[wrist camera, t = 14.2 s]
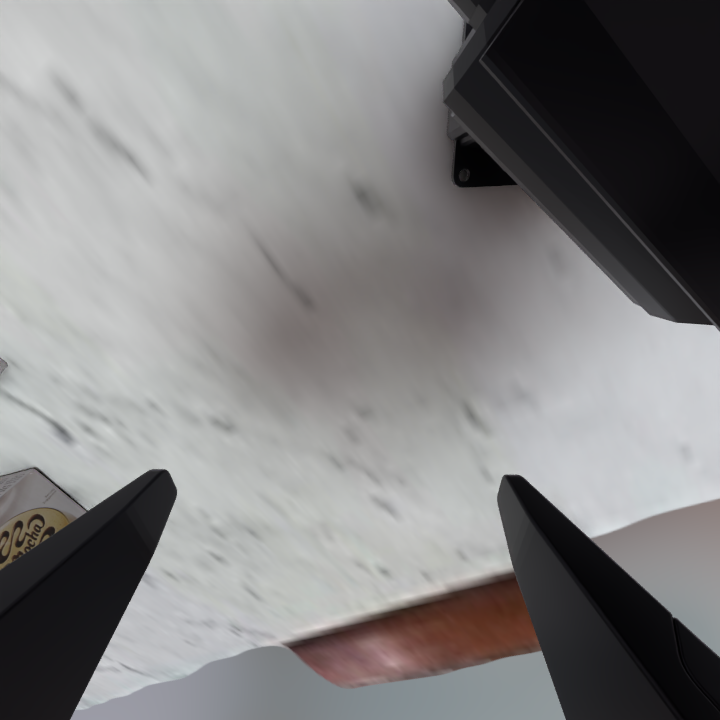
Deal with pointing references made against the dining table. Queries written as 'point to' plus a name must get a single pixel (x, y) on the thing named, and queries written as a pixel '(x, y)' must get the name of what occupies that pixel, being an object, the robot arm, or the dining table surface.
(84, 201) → the dining table surface
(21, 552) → the coffee box
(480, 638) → the dining table surface
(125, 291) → the dining table surface
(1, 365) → the lighter
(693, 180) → the robot arm
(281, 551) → the dining table surface
